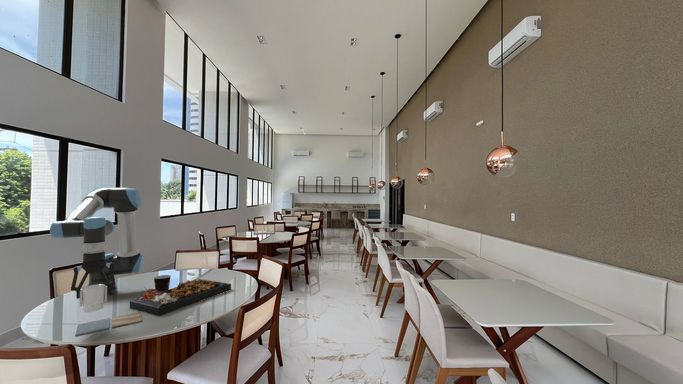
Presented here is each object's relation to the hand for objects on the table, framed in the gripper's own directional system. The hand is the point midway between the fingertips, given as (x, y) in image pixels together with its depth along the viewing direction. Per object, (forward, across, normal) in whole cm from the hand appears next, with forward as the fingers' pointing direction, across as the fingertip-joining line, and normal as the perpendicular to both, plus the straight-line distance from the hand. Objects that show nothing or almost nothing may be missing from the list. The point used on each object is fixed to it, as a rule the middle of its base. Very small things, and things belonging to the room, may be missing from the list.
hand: (93, 303), depth 130 cm
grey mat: (+11, 0, 0) cm, 11 cm away
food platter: (+11, +39, +17) cm, 44 cm away
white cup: (+3, 0, 0) cm, 3 cm away
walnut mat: (+11, +12, 0) cm, 16 cm away
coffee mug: (+11, +32, +36) cm, 49 cm away
